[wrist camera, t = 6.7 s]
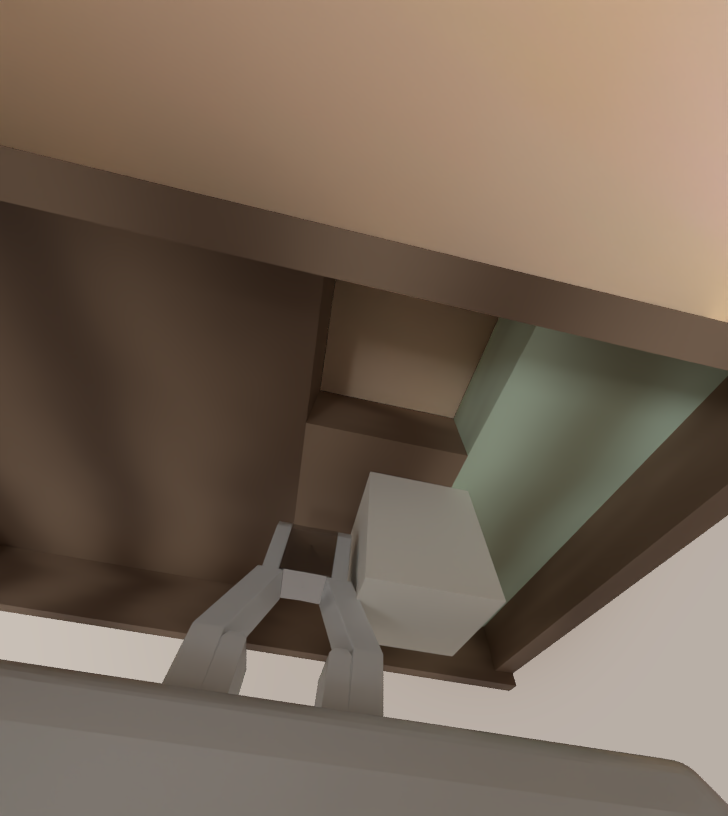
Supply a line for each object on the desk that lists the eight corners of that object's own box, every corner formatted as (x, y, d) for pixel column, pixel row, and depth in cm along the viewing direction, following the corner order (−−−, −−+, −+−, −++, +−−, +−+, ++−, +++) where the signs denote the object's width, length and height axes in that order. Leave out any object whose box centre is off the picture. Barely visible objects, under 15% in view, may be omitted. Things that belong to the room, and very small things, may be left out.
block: (350, 533, 13) (340, 638, 10) (370, 471, 11) (365, 577, 8) (433, 548, 13) (452, 656, 10) (468, 491, 11) (506, 601, 8)
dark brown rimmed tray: (30, 511, 18) (-81, 597, 14) (-237, 87, 8) (-931, -82, 4) (481, 591, 20) (509, 690, 15) (710, 318, 10) (965, 381, 5)
